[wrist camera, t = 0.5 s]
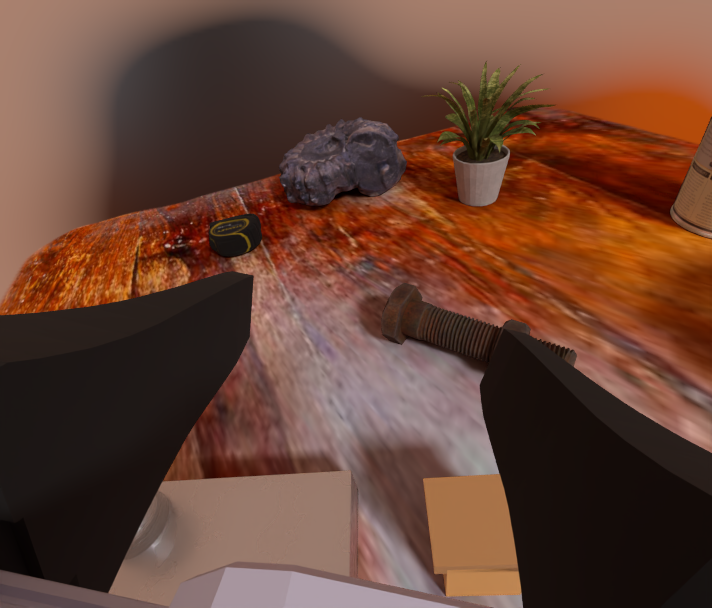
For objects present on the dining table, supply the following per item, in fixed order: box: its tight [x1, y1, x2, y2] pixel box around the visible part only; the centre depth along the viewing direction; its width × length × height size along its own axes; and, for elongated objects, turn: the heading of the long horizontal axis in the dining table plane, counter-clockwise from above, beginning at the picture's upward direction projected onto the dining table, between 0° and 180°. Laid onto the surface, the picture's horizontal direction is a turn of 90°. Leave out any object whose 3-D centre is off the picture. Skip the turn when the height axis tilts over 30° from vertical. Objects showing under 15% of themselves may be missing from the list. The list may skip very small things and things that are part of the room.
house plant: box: [428, 63, 554, 206], centre depth 47 cm, size 14×14×16 cm
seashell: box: [279, 117, 407, 206], centre depth 58 cm, size 19×13×15 cm
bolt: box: [382, 283, 577, 367], centre depth 32 cm, size 6×5×15 cm
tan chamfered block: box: [423, 474, 521, 596], centre depth 21 cm, size 4×5×6 cm
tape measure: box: [209, 214, 262, 256], centre depth 52 cm, size 7×7×4 cm
